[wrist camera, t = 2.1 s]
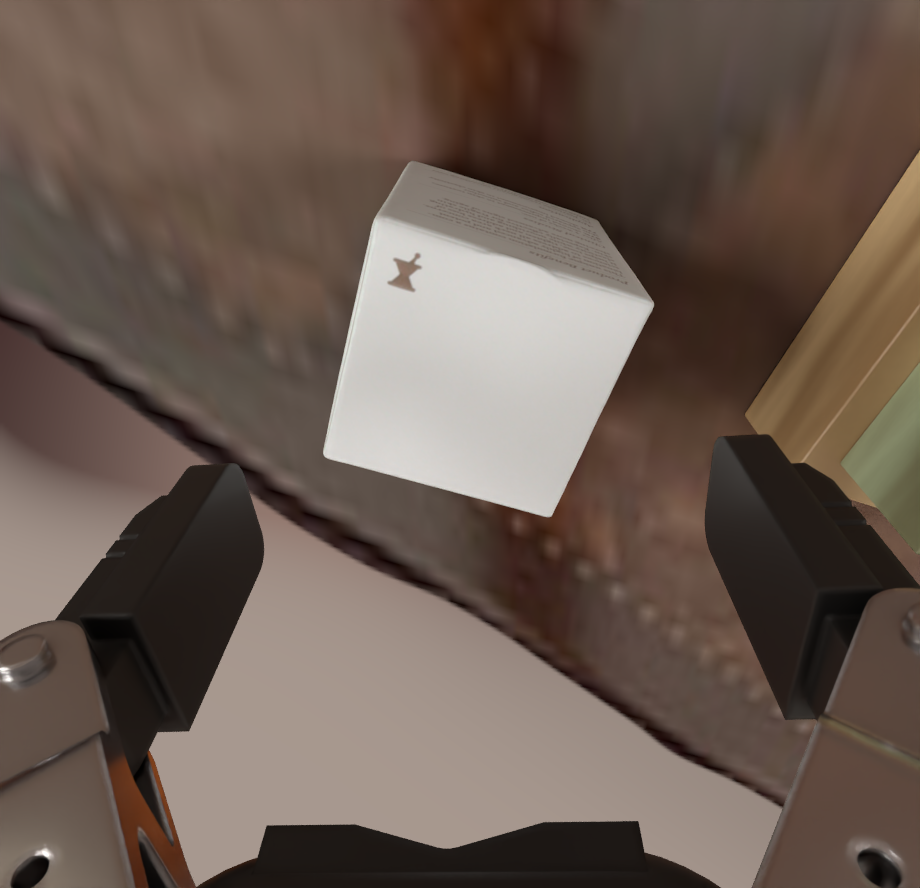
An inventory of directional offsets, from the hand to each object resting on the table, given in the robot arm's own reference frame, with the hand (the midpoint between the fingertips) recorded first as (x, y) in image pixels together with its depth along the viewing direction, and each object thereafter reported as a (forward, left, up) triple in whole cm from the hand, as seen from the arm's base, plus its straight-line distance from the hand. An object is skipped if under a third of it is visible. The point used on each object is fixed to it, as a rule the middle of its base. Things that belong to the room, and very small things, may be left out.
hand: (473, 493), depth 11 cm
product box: (0, 0, -11) cm, 11 cm away
